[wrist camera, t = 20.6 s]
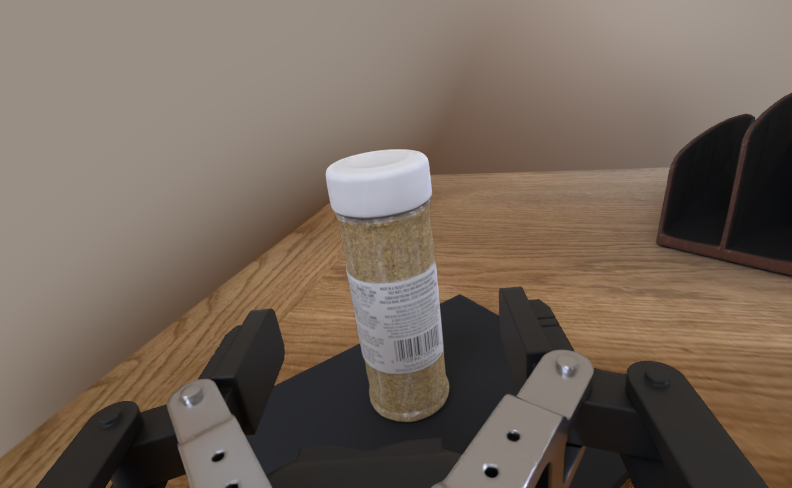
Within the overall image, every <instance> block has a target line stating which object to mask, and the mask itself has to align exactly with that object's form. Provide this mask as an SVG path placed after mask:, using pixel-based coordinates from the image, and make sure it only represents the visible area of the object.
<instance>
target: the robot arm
mask: <svg viewBox="0 0 792 488" xmlns="http://www.w3.org/2000/svg"><path fill="white" fill-rule="evenodd" d="M499 321H500V335H501V340H502V344H503V347H504V350H505V353H506V356H507V359H508V362H509V366H510V369H511V372H512V375H513V378H514V381H515V384H516V387H517V390H518V394H517V395H516V396H514V395H512V394H509V393H508V394H506V395H505V396H504V397H503V398H502V399H501V401H500V402H499V404H498V405H497V407H496V408H495V409H494V411H493V412H492V414H491V415H490V416H489V418H488V419H487V421H486V422H485V423H484V425H483V426H482V428H481V429H480V431H479V432H478V433H477V435H476V436H475V438H474V439H473V440H472V442H471V443H470V445H469V446H468V447H467V449H466V450H465V452H464V453H463V455H462V454H459V453H456V452H453V451H449V450H443V446H442V438H432V439H418V440H406V441H402V442H399V443H395V444H392V445H388V446H385V447H382V448H378V449H375V450H371V451H366V450H360V449H353V448H347V447H341V446H335V445H332V446H317V447H303V448H300V449H299V453H298V457H297V460H295V461H292V462H289V463H287V464H284V465H282V466H281V467H279V468H277V469H275V470H274V471H272V472H270V473H269V474H268V475H265V473H264V471H263V469H262V467H261V465H260V463H259V461H258V459H257V458H256V456H255V454H254V452H253V450H252V448H251V446H250V444H249V442H248V440H247V438H246V437H245V435H255V433H256V430H257V428H258V425H259V423H260V420H261V418H262V415H263V412H264V410H265V407H266V405H267V402H268V400H269V397H270V394H271V392H272V389H273V387H274V384H275V382H276V379H277V377H278V374H279V371H280V369H281V366H282V364H283V361H284V354H285V351H284V343H283V339H282V336H281V332H280V329H279V325H278V321H277V318H276V314H275V312H274V310H273V309H264V310H253V311H250V312H249V314H248V316H247V317H246V319H245V321H244V322H243V324H242V325H239V326H236V327H235V328H234V329H232V330H231V331H230V332H229V333H228V334H226V335H225V337H224V339H223V340H222V342H221V343H220V347H218V348H217V350H216V351H215V355H213V356H212V358H211V359H210V361H209V362H208V364H207V366H206V367H205V369H204V370H203V372H202V374H201V375H200V377H199V378H198V380H195V381H191V382H189V383H187V384H185V385H183V386H181V387H180V388H178V389H177V390H176V391H175V392H174V393H173V394H172V395H171V396H170V398H169V399H168V401H167V404H166V405H163V406H160V407H157V408H153V409H150V410H147V411H144V412H140V410H139V408H138V406H137V404H136V403H134V402H132V401H122V402H118V403H115V404H112V405H110V406H107V407H105V408H104V409H102V410H100V411H99V412H97V413H96V414H95V415H93V416H92V417H91V418H90V419H89V420H88V422H87V423H86V424H85V425H84V427H83V428H82V429H81V430H80V432H79V433H78V434H77V435H76V437H75V438H74V439H73V441H72V442H71V443H70V444H69V446H68V447H67V448H66V450H65V451H64V452H63V453H62V455H61V456H60V457H59V458H58V460H57V461H56V462H55V464H54V465H53V466H52V467H51V469H50V470H49V471H48V472H47V474H46V475H45V476H44V478H43V479H42V480H41V481H40V483H39V484H38V485H37V486H36V488H105V487H106V485H107V484H108V482H109V481H110V479H111V481H112V483H113V484H112V485H111V487H110V488H165V486H166V484H167V482H168V480H171V479H173V478H176V477H179V476H182V475H185V474H187V477H188V481H189V484H190V487H191V488H569V486H570V483H571V481H572V479H573V477H574V474H575V472H576V470H577V468H578V465H579V463H580V461H581V458H582V456H583V454H584V452H585V449H586V447H590V448H595V449H600V450H605V451H610V452H615V453H619V455H620V457H621V459H622V461H623V463H624V466H625V468H626V470H627V472H628V474H629V477H630V479H631V481H632V483H633V485H634V488H769V487H768V486H767V485H766V483H765V482H764V481H763V479H762V478H761V477H760V475H759V474H758V473H757V471H756V470H755V469H754V467H753V466H752V465H751V464H750V462H749V461H748V460H747V458H746V457H745V456H744V454H743V453H742V452H741V450H740V449H739V448H738V446H737V445H736V444H735V442H734V441H733V440H732V438H731V437H730V436H729V434H728V433H727V432H726V431H725V429H724V428H723V427H722V425H721V424H720V423H719V421H718V420H717V419H716V417H715V416H714V415H713V413H712V412H711V411H710V409H709V408H708V407H707V405H706V404H705V403H704V401H703V400H702V399H701V397H700V396H699V395H698V394H697V392H696V391H695V390H694V388H693V387H692V386H691V384H690V383H689V382H688V380H687V379H686V378H685V377H684V375H683V374H682V373H680V372H679V371H678V370H676V369H675V368H673V367H671V366H668V365H666V364H663V363H659V362H654V361H640V362H636V363H634V364H632V365H631V366H630V367H629V368H628V370H627V374H621V373H614V372H607V371H602V370H599V369H596V368H593V365H592V363H591V362H590V361H589V360H588V359H587V358H586V357H585V356H583V355H581V354H579V353H577V352H575V351H574V349H573V348H572V346H571V344H570V342H569V341H568V339H567V337H566V335H565V333H564V332H563V330H562V328H561V326H559V323H558V321H557V319H556V318H555V316H554V314H553V312H552V310H551V308H550V307H549V306H548V305H546V304H545V303H543V302H542V301H541V300H539V299H536V300H528V299H527V296H526V294H525V292H524V290H523V288H522V287H510V288H500V289H499Z"/></svg>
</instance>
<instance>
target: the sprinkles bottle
mask: <svg viewBox="0 0 792 488" xmlns="http://www.w3.org/2000/svg"><path fill="white" fill-rule="evenodd" d="M326 181H327V187H328V193H329V198H330V203H331V207H332V209H333V211H335V215H336V217H337V220H338V223H339V228H340V233H341V238H342V243H343V248H344V254H345V259H346V264H347V265H346V271H347V276H348V281H349V286H350V291H351V297H352V302H353V307H354V312H355V317H356V323H357V328H358V334H359V339H360V345H361V350H362V354H363V357H364V359H365V364H366V370H367V375H368V380H369V385H370V388H369V396H370V401H371V403H372V405H373V407H374V409H375V410H376V411H377V412H378V413H379V414H380V415H381V416H384V417H386V418H388V419H392V420H395V421H402V422H413V421H418V420H421V419H424V418H426V417H428V416H430V415H432V414H434V413H435V412H437V411H438V410H439V409H440V408H441V407H442V406H443V405H444V403H445V402H446V399H447V397H448V393H449V382H448V379H447V377H446V373H445V362H444V350H443V336H442V325H441V313H440V302H439V291H438V281H437V270H436V263H435V255H434V249H433V240H432V230H431V222H430V216H429V207H430V204H431V200H430V197H431V194H432V188H431V178H430V170H429V163H428V159H427V157H426V156H425V155H424V154H423V153H421V152H418V151H413V150H404V149H403V150H402V149H394V150H381V151H373V152H367V153H362V154H357V155H354V156H350V157H347V158H344V159H341V160H339V161H337V162H335V163H333V164H332V165H330V166H329V167H328V169H327V171H326Z"/></svg>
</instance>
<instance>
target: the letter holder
mask: <svg viewBox="0 0 792 488" xmlns="http://www.w3.org/2000/svg"><path fill="white" fill-rule="evenodd" d="M656 243H657V244H658V245H660V246H664V247H669V248H674V249H678V250H682V251H686V252H690V253H694V254H698V255H702V256H707V257H711V258H716V259H720V260H724V261H728V262H732V263H737V264H741V265H745V266H750V267H754V268H758V269H763V270H767V271H771V272H776V273H781V274H785V275H789V276H792V93H790V94H788V95H786V96H784V97H783V98H781V99H780V100H778V101H777V102H776V103H774V104H773V105H772V106H770V107H769V108H768V109H767V110H766V111H764V112H763V113H762V114H761V115H760V116H759V117H758V118H757V119H756V120H755V117H754V116H752V115H749V114H742V115H739V116H735V117H732V118H729V119H727V120H725V121H723V122H720V123H718V124H717V125H715V126H713V127H711V128H709V129H708V130H706V131H705V132H703V133H702V134H700V135H699V136H697V137H696V138H694V139H693V140H692V141H691V142H689V143H688V144H687V145H686V146H685V147H684V148H682V149H681V150H680V152H679V153H678V154H677V155H676V156H675V158H674V160H673V162H672V164H671V167H670V170H669V175H668V181H667V187H666V192H665V197H664V202H663V207H662V213H661V218H660V223H659V230H658V235H657V240H656Z"/></svg>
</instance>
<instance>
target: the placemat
mask: <svg viewBox="0 0 792 488" xmlns="http://www.w3.org/2000/svg"><path fill="white" fill-rule="evenodd" d="M440 313H441V325H442V336H443V350H444V362H445V373H446V377H447V379H448V382H449V393H448V397H447V399H446V402H445V403H444V405H443V406H442V407H441V408H440V409H439V410H438V411H437V412H435V413H434V414H432V415H430V416H428V417H426V418H424V419H421V420H418V421H413V422H402V421H395V420H392V419H388V418H386V417H384V416H381V415H380V414H379V413H378V412H377V411H376V410H375V409H374V407H373V405H372V403H371V401H370V396H369V388H370V385H369V380H368V375H367V370H366V364H365V359H364V357H363V354H362V350H361V345H360V344H358V345H356V346H354V347H352V348H350V349H348V350H346V351H344V352H342V353H340V354H338V355H336V356H334V357H332V358H330V359H328V360H326V361H324V362H322V363H320V364H318V365H316V366H314V367H312V368H310V369H308V370H306V371H304V372H302V373H300V374H298V375H296V376H294V377H292V378H290V379H288V380H286V381H284V382H281V383H279V384H277V385H275V386H274V387H273V389H272V392H271V394H270V397H269V400H268V402H267V405H266V407H265V410H264V412H263V415H262V418H261V420H260V423H259V425H258V428H257V430H256V433H255V435H245V437H246V438H247V440H248V442H249V444H250V446H251V448H252V450H253V452H254V454H255V456H256V458H257V459H258V461H259V463H260V465H261V467H262V469H263V471H264V473H265V475H268V474H269V473H270V472H272V471H274V470H275V469H277V468H279V467H281V466H282V465H284V464H287V463H289V462H292V461H295V460H297V457H298V453H299V449H300V448H303V447H317V446H332V445H335V446H341V447H347V448H353V449H360V450H366V451H371V450H375V449H378V448H382V447H385V446H388V445H392V444H395V443H399V442H402V441H406V440H418V439H432V438H442V446H443V450H449V451H453V452H456V453H459V454H462V455H463V453H464V452H465V450H466V449H467V447H468V446H469V445H470V443H471V442H472V440H473V439H474V438H475V436H476V435H477V433H478V432H479V431H480V429H481V428H482V426H483V425H484V423H485V422H486V421H487V419H488V418H489V416H490V415H491V414H492V412H493V411H494V409H495V408H496V407H497V405H498V404H499V402H500V401H501V399H502V398H503V397H504V396H505V395H506V394H508V393H509V394H512V395H514V396H516V395H517V394H518V390H517V387H516V384H515V381H514V378H513V375H512V372H511V369H510V366H509V362H508V359H507V356H506V353H505V350H504V347H503V344H502V340H501V335H500V321H499V316H498V315H497V314H495V313H493V312H491V311H489V310H488V309H486V308H484V307H482V306H480V305H478V304H477V303H475V302H473V301H471V300H469V299H468V298H466V297H464V296H462V295H460V294H459V295H457V296H455V297H453V298H451V299H449V300H447V301H445V302H443V303H441V304H440ZM628 478H629V474H628V472H627V470H626V468H625V466H624V463H623V461H622V459H621V457H620V455H619V453H615V452H610V451H605V450H600V449H595V448H590V447H586V449H585V452H584V454H583V456H582V458H581V461H580V463H579V465H578V468H577V470H576V472H575V474H574V477H573V479H572V481H571V483H570V486H569V488H619V487H620V486H621V485H622V484H623V483H624V482H625V481H626V480H627V479H628Z"/></svg>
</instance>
